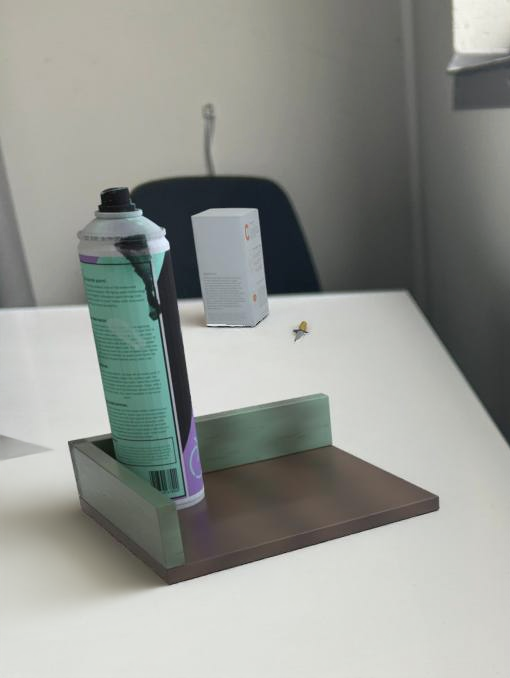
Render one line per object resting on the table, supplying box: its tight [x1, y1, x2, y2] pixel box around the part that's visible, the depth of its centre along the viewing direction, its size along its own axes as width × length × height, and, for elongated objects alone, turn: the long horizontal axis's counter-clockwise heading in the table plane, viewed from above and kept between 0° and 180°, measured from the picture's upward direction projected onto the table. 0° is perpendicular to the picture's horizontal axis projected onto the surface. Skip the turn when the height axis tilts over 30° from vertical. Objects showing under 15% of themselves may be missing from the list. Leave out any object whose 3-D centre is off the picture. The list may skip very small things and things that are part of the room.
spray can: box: [76, 186, 204, 510], centre depth 67 cm, size 6×6×20 cm
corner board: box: [67, 392, 440, 585], centre depth 71 cm, size 20×16×5 cm
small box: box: [190, 207, 270, 327], centre depth 128 cm, size 8×6×13 cm
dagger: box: [292, 320, 310, 340], centre depth 123 cm, size 11×1×2 cm
